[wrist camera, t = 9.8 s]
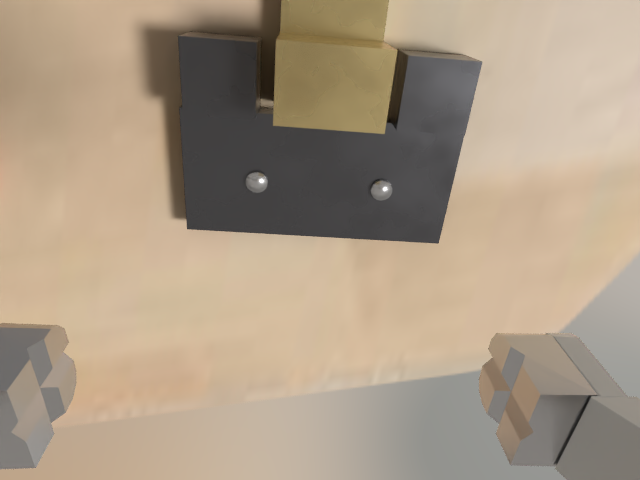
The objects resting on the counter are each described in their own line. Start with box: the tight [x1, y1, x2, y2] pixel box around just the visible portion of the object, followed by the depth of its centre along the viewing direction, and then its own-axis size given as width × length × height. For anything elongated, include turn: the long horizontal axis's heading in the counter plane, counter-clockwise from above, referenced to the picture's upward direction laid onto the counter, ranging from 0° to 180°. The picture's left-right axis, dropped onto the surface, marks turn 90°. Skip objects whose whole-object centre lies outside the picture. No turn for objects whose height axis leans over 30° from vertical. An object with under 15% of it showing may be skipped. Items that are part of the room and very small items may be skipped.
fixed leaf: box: [178, 31, 482, 243], centre depth 24 cm, size 15×10×3 cm
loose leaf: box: [273, 0, 397, 134], centre depth 21 cm, size 5×8×5 cm, turn 175°
